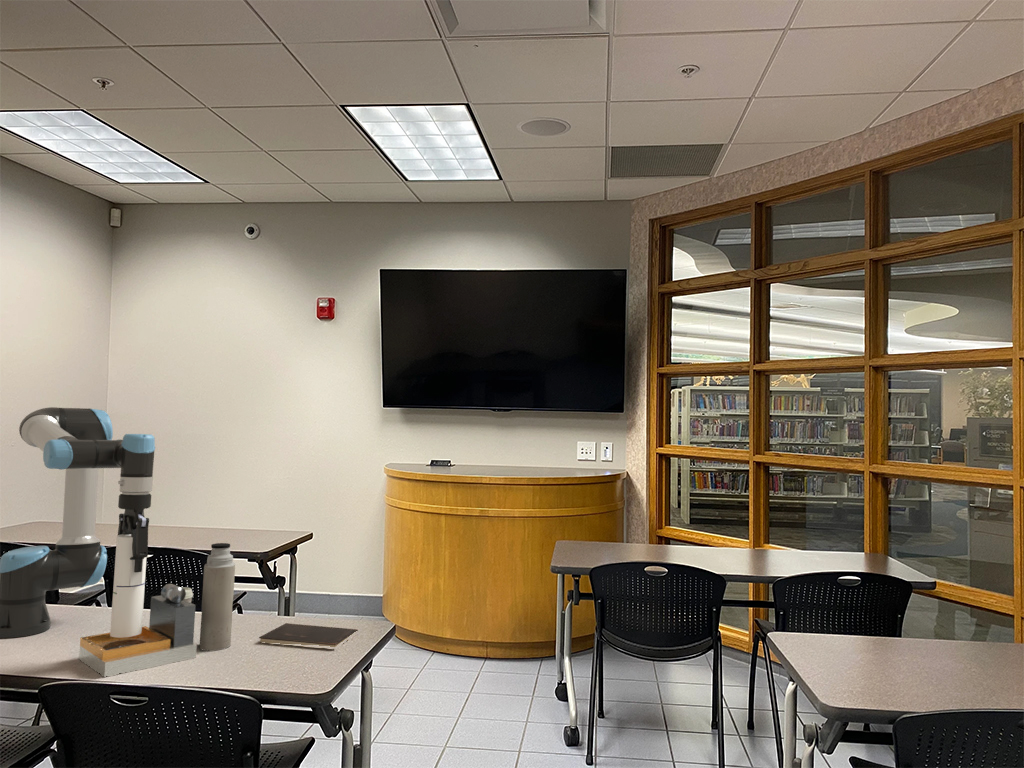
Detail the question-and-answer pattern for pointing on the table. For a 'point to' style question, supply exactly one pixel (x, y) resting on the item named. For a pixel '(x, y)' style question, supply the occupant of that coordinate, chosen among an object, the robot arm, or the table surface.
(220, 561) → the thermos bottle
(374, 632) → the table surface
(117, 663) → the grey stand with tray
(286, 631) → the hardcover book
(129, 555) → the cylindrical container
